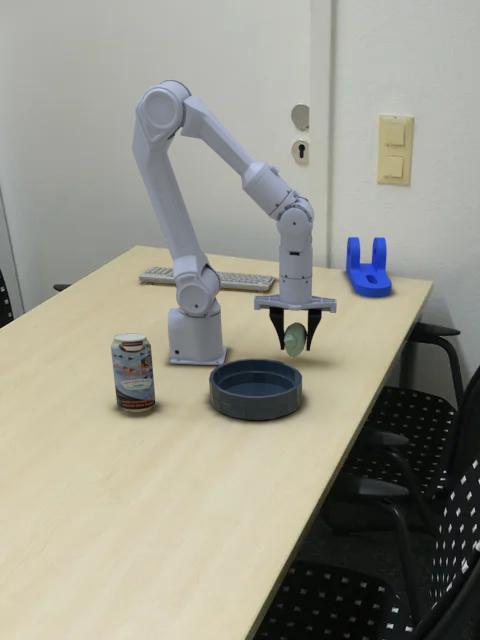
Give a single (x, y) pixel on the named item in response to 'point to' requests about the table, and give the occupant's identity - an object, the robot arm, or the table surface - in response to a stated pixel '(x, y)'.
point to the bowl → (255, 388)
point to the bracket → (368, 269)
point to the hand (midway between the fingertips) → (295, 348)
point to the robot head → (295, 339)
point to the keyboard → (226, 277)
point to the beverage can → (133, 372)
